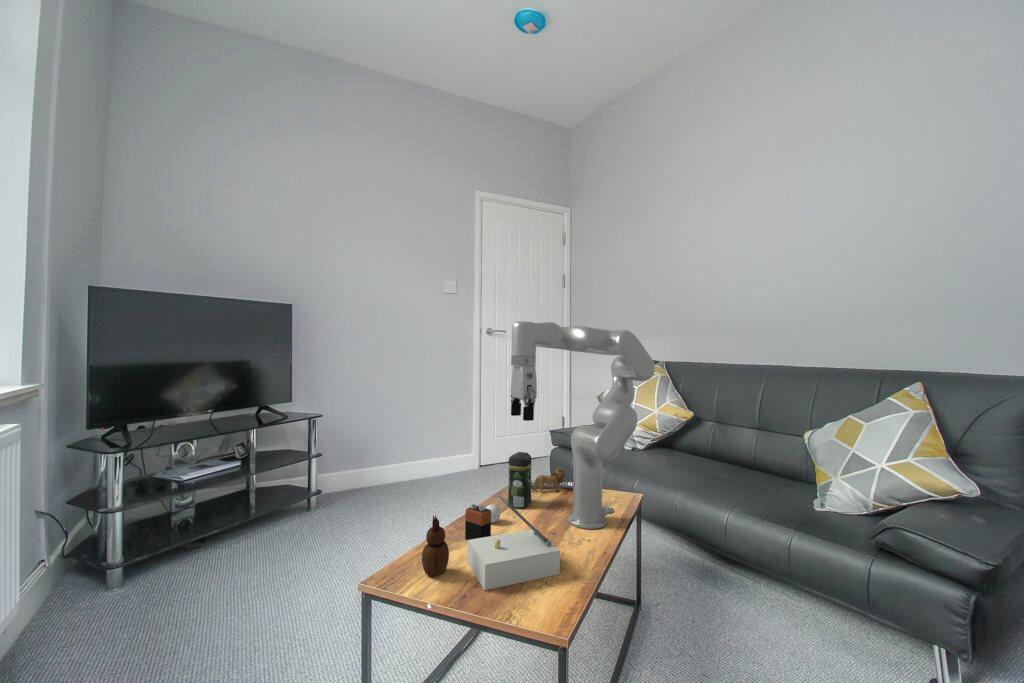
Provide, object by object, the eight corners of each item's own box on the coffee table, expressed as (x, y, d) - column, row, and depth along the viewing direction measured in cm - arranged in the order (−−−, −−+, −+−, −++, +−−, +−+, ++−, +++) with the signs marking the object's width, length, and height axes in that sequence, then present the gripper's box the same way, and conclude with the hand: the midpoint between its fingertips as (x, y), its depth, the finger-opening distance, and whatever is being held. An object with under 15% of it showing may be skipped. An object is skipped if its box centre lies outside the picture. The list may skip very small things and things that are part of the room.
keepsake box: (535, 550, 122) (535, 522, 122) (559, 574, 109) (559, 543, 110) (467, 562, 115) (467, 533, 115) (484, 590, 102) (485, 556, 102)
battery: (482, 545, 125) (482, 510, 125) (464, 539, 128) (464, 505, 129) (491, 540, 128) (492, 506, 128) (473, 534, 132) (474, 501, 132)
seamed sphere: (483, 518, 145) (484, 501, 145) (500, 519, 144) (501, 502, 144) (481, 528, 137) (481, 510, 137) (499, 528, 137) (499, 510, 137)
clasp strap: (536, 535, 118) (539, 532, 119) (547, 545, 113) (550, 541, 113) (497, 497, 114) (500, 494, 114) (506, 505, 108) (509, 501, 109)
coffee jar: (512, 498, 164) (513, 449, 164) (533, 501, 162) (533, 451, 162) (505, 507, 155) (505, 455, 155) (526, 510, 152) (527, 457, 153)
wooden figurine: (434, 582, 105) (435, 520, 105) (417, 575, 108) (418, 514, 108) (452, 570, 111) (453, 511, 111) (435, 564, 114) (436, 506, 114)
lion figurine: (561, 487, 178) (562, 465, 178) (568, 491, 173) (568, 469, 173) (528, 491, 173) (529, 468, 173) (534, 495, 168) (534, 472, 168)
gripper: (546, 363, 126) (545, 422, 126) (523, 361, 142) (522, 413, 142) (523, 362, 123) (521, 423, 123) (502, 360, 139) (500, 414, 139)
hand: (521, 417), depth 132 cm, fingers open, 9 cm apart
